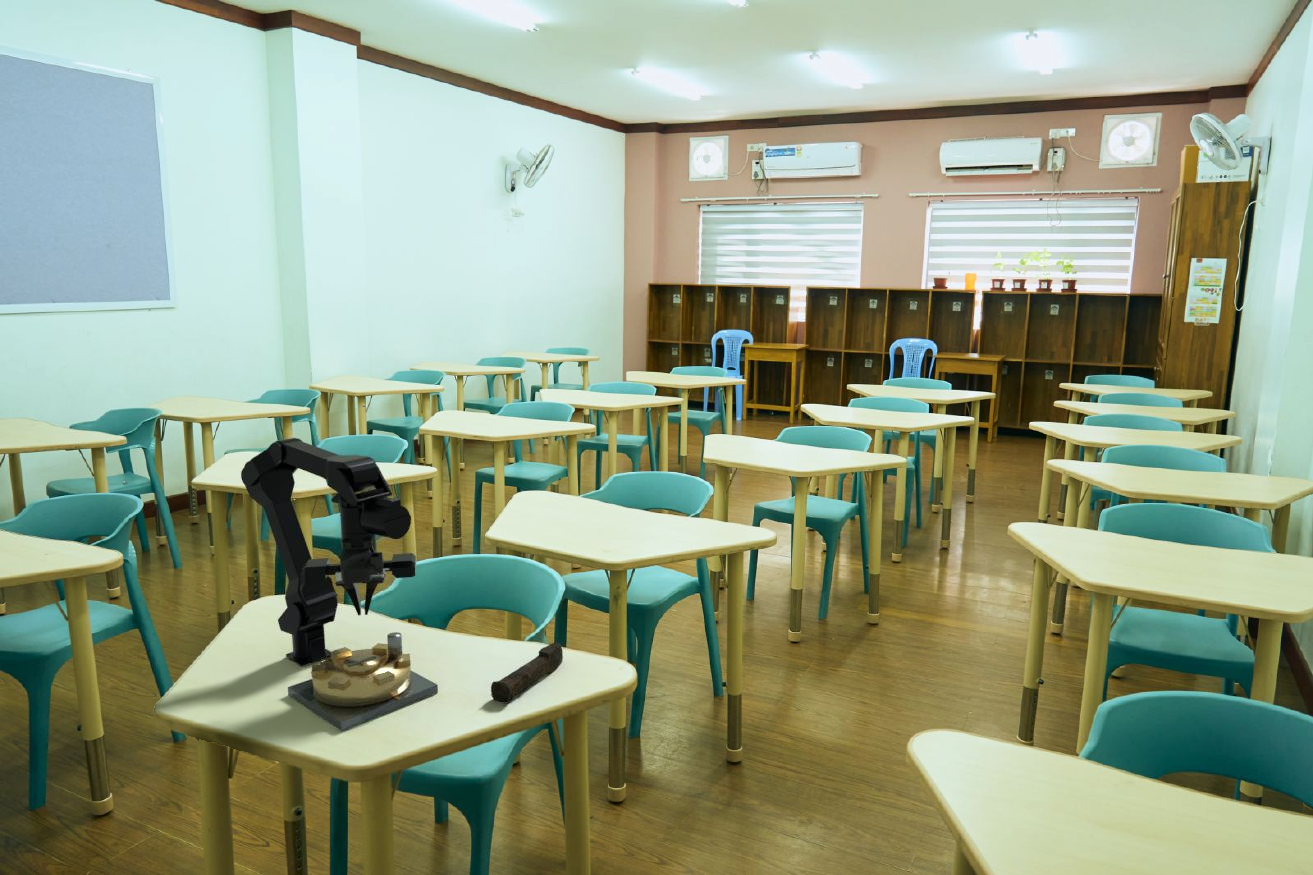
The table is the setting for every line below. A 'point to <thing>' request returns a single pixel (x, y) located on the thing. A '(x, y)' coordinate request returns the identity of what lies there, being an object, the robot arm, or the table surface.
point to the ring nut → (363, 674)
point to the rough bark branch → (528, 673)
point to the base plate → (360, 714)
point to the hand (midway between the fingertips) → (363, 614)
